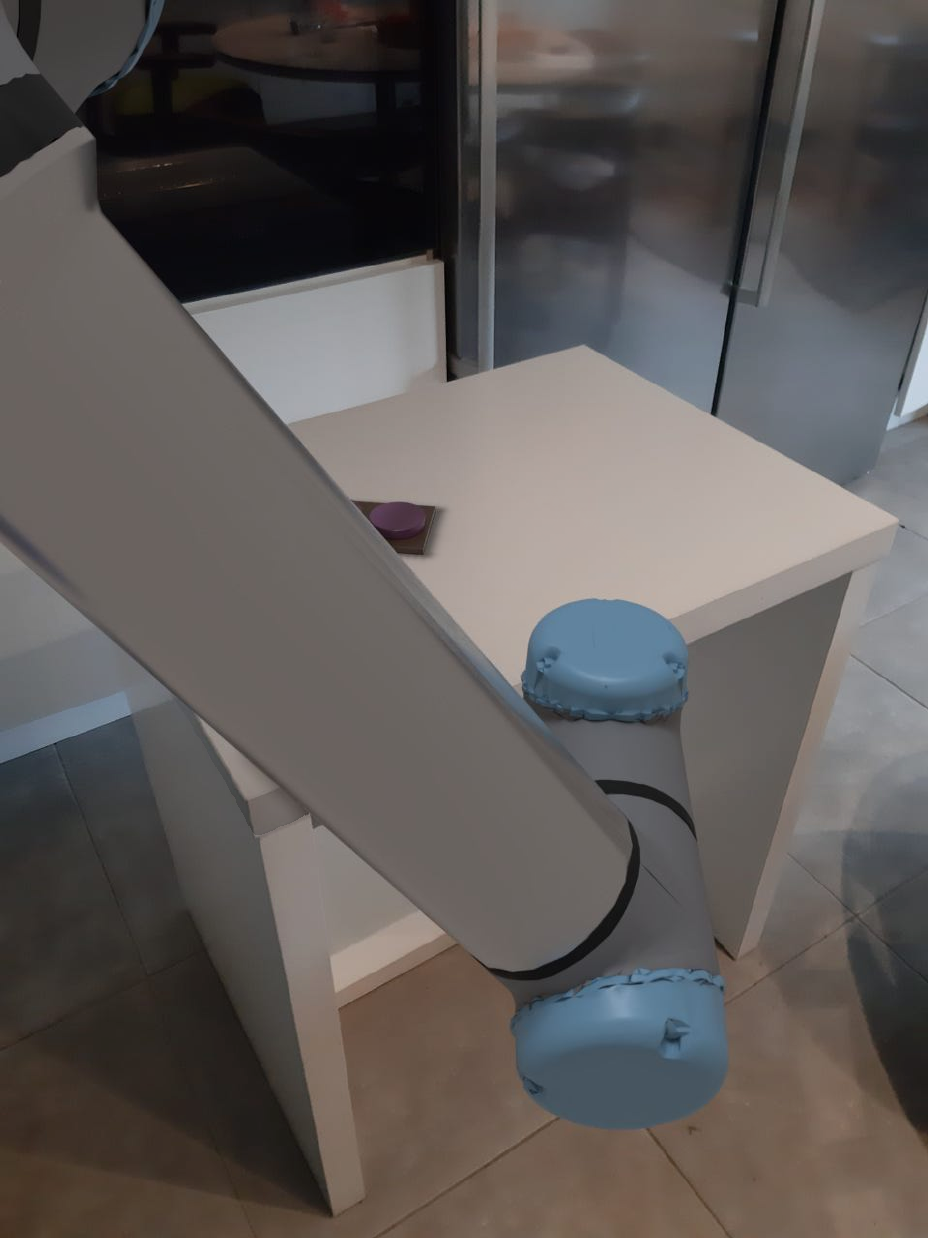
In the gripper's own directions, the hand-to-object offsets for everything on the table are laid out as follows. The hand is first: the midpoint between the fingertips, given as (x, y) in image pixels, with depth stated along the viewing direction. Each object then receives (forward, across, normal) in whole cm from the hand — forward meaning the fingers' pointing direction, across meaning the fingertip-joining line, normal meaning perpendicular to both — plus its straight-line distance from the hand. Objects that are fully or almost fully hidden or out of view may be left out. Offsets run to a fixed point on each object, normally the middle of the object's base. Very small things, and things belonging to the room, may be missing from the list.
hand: (252, 593), depth 73 cm
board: (+12, +16, -7) cm, 22 cm away
